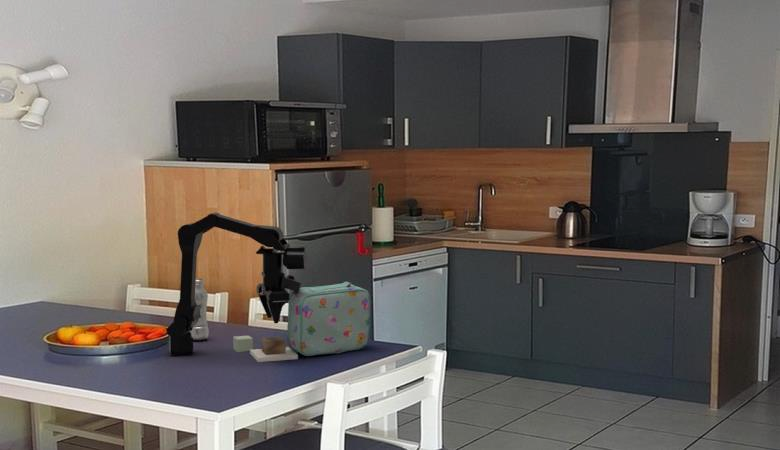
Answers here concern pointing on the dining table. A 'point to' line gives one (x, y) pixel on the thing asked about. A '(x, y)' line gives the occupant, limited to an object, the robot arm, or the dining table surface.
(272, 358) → the base board
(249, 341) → the sage block
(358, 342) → the lunch box
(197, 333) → the plastic bottle
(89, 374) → the dining table surface
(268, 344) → the walnut block
